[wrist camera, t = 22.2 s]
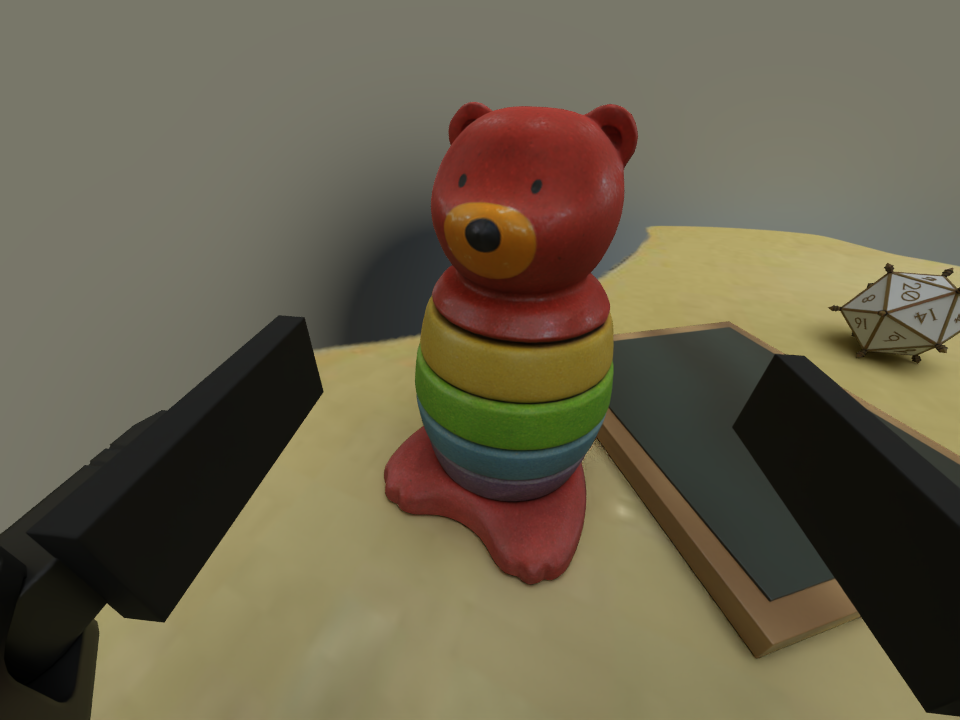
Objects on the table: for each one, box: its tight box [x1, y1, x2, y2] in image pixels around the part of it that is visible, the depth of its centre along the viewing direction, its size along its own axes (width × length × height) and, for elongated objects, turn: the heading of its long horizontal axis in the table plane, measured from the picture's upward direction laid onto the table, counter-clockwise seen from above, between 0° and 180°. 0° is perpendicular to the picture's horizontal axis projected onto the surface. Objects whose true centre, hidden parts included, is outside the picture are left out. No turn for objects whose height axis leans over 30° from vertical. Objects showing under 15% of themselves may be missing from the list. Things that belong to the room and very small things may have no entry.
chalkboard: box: [596, 321, 960, 658], centre depth 25 cm, size 20×22×2 cm
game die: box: [828, 263, 960, 364], centre depth 33 cm, size 9×8×10 cm
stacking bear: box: [384, 102, 638, 584], centre depth 17 cm, size 11×10×18 cm
